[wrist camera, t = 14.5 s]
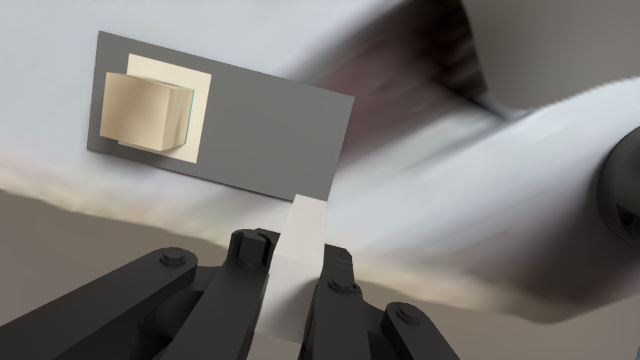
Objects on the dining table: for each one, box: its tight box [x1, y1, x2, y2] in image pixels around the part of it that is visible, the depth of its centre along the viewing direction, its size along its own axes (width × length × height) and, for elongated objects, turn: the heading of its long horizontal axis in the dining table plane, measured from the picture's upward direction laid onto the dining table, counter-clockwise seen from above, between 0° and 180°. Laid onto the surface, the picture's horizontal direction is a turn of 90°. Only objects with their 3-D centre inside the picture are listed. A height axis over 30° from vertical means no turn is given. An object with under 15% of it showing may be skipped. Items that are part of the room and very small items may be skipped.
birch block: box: [100, 72, 195, 151], centre depth 37 cm, size 6×6×6 cm
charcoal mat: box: [87, 31, 355, 202], centre depth 40 cm, size 28×13×1 cm, turn 76°
